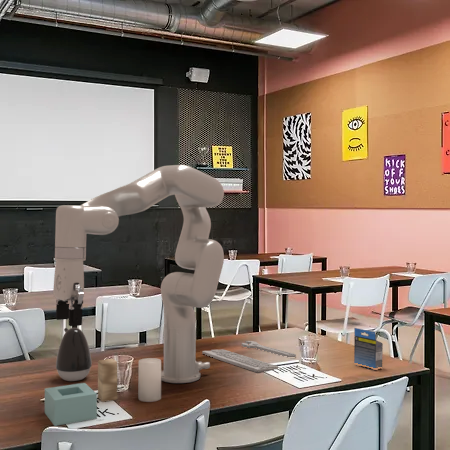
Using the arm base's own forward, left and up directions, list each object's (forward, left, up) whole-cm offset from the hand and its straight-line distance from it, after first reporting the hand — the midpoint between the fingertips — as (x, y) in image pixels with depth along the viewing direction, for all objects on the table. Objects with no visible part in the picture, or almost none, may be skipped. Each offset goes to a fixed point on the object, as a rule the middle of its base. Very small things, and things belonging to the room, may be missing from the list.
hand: (68, 322), depth 144 cm
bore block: (+1, +5, -22) cm, 22 cm away
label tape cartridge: (-95, +7, -22) cm, 98 cm away
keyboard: (-62, -19, -23) cm, 69 cm away
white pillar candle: (-21, +2, -22) cm, 30 cm away
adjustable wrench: (-77, -25, -22) cm, 85 cm away
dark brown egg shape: (-8, -25, -22) cm, 34 cm away
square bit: (-11, -3, -22) cm, 25 cm away
